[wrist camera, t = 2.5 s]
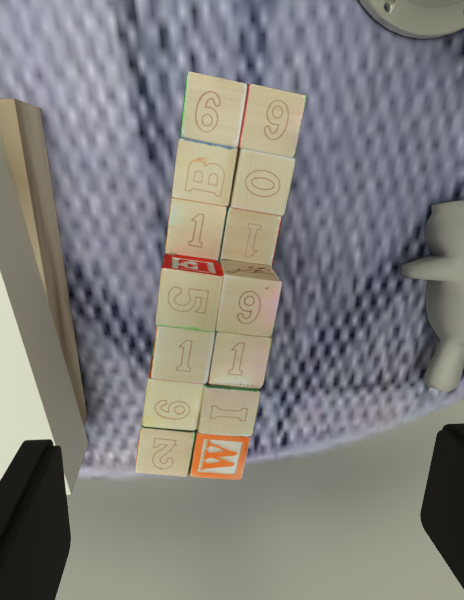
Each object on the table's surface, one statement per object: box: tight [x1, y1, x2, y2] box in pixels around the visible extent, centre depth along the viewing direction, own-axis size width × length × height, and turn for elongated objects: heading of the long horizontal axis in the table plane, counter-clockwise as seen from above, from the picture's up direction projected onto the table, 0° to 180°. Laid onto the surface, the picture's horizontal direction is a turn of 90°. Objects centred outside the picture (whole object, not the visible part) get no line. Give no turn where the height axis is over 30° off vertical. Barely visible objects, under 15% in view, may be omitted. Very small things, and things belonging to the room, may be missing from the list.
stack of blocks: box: [135, 72, 307, 480], centre depth 27 cm, size 21×6×12 cm, turn 170°
